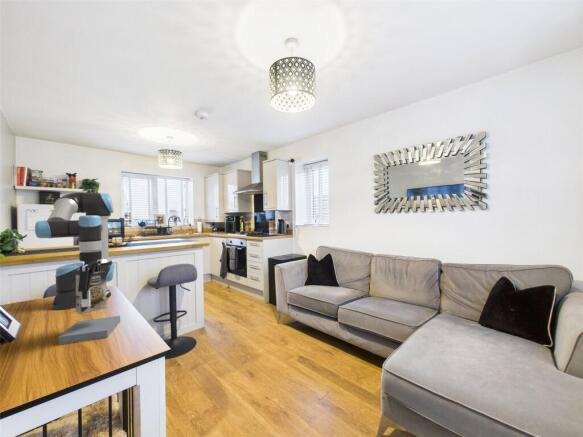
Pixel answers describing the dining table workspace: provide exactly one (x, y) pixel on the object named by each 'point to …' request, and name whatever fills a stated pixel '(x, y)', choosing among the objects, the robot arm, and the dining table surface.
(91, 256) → the robot arm
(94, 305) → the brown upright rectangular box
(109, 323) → the base board
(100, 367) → the dining table surface
